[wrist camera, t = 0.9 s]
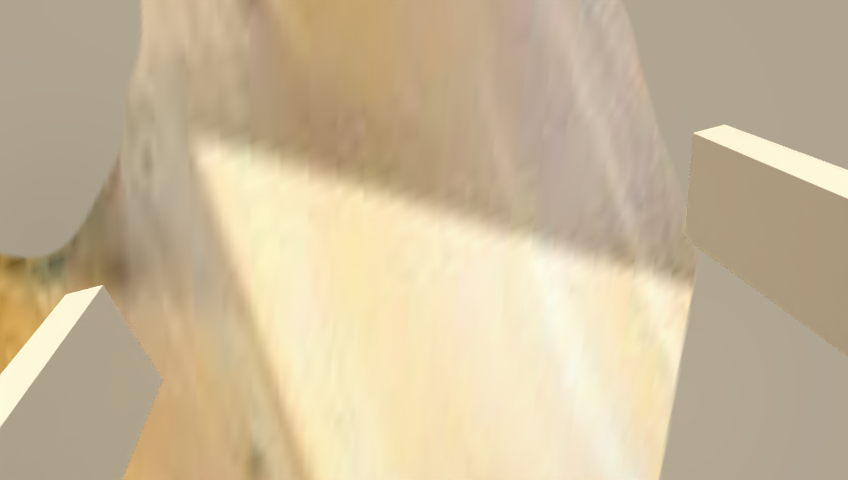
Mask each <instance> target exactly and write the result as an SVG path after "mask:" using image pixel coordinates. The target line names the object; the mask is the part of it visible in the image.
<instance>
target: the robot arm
mask: <svg viewBox="0 0 848 480" xmlns="http://www.w3.org/2000/svg"><path fill="white" fill-rule="evenodd" d="M685 239H687V240H688V241H690V242H691V243H692V244H694V245H695V246H696V247H698V248H699V249H701V250H702V251H703V252H705V253H706V254H707V255H709V256H710V257H712V258H713V259H714V260H716V261H717V262H718V263H720V264H721V265H723V266H724V267H725V268H727V269H728V270H729V271H731V272H732V273H734V274H735V275H736V276H738V277H739V278H741V279H742V280H743V281H745V282H746V283H747V284H749V285H750V286H751V287H753V288H754V289H756V290H757V291H758V292H760V293H761V294H762V295H764V296H765V297H767V298H768V299H769V300H771V301H772V302H773V303H775V304H776V305H778V306H779V307H780V308H782V309H783V310H785V311H786V312H787V313H789V314H790V315H791V316H793V317H794V318H796V319H797V320H798V321H800V322H801V323H803V324H804V325H805V326H806V327H808V328H809V329H811V330H812V331H813V332H815V333H816V334H817V335H819V336H820V337H822V338H823V339H825V340H826V341H827V342H828V343H830V344H831V345H833V346H834V347H835V348H837V349H838V350H839V351H841V352H842V353H844V354H845V355H846V356H848V170H846V169H843V168H841V167H838V166H835V165H832V164H830V163H827V162H824V161H822V160H819V159H816V158H814V157H811V156H808V155H805V154H803V153H800V152H797V151H795V150H792V149H789V148H786V147H784V146H781V145H778V144H775V143H773V142H770V141H767V140H765V139H762V138H759V137H757V136H754V135H751V134H748V133H746V132H743V131H740V130H738V129H735V128H732V127H730V126H727V125H722V126H718V127H714V128H710V129H706V130H702V131H698V132H695V133H693V137H692V150H691V164H690V178H689V191H688V204H687V217H686V231H685ZM162 381H163V378H162V377H161V375H160V374H159V372H158V371H157V369H156V367H155V366H154V364H153V363H152V361H151V360H150V358H149V356H148V355H147V353H146V352H145V350H144V349H143V347H142V345H141V344H140V342H139V341H138V339H137V338H136V336H135V334H134V333H133V331H132V330H131V328H130V326H129V325H128V323H127V322H126V320H125V319H124V317H123V315H122V314H121V312H120V311H119V309H118V308H117V306H116V304H115V303H114V301H113V300H112V298H111V297H110V295H109V293H108V292H107V290H106V289H105V287H104V286H103V285H101V286H97V287H93V288H90V289H86V290H82V291H78V292H74V293H70V294H66V295H65V297H64V298H63V299H62V300H61V301H60V303H59V304H58V305H57V306H56V307H55V309H54V310H53V311H52V312H51V314H50V315H49V316H48V317H47V318H46V320H45V321H44V322H43V323H42V325H41V326H40V327H39V328H38V329H37V331H36V332H35V333H34V334H33V336H32V337H31V338H30V339H29V340H28V342H27V343H26V344H25V345H24V347H23V348H22V349H21V350H20V351H19V353H18V354H17V355H16V356H15V358H14V359H13V360H12V361H11V362H10V364H9V365H8V366H7V367H6V369H5V370H4V371H3V372H2V373H1V375H0V480H122V479H123V477H124V475H125V472H126V470H127V467H128V465H129V462H130V460H131V457H132V455H133V452H134V450H135V447H136V445H137V442H138V440H139V437H140V435H141V433H142V430H143V428H144V425H145V423H146V420H147V418H148V415H149V413H150V410H151V408H152V405H153V403H154V400H155V398H156V396H157V393H158V391H159V388H160V386H161V383H162Z"/></svg>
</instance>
